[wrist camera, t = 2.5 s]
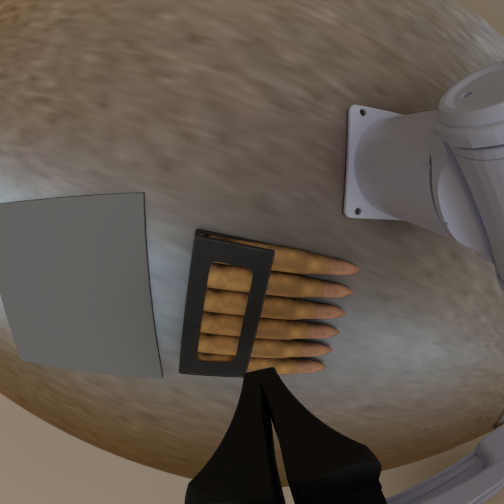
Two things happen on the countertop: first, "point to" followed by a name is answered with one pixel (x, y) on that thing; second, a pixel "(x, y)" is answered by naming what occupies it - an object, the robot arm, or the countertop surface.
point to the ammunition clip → (255, 307)
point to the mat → (80, 283)
